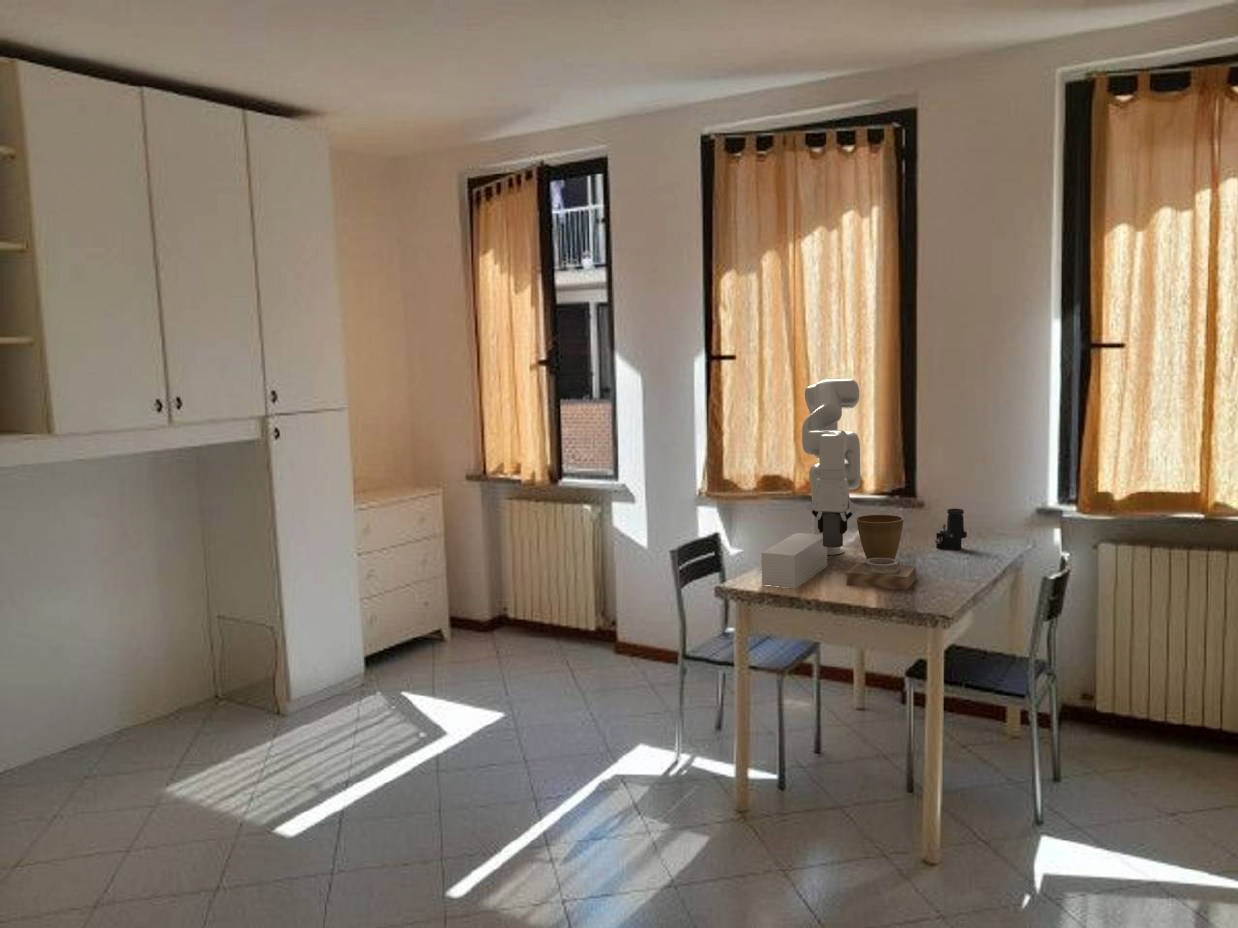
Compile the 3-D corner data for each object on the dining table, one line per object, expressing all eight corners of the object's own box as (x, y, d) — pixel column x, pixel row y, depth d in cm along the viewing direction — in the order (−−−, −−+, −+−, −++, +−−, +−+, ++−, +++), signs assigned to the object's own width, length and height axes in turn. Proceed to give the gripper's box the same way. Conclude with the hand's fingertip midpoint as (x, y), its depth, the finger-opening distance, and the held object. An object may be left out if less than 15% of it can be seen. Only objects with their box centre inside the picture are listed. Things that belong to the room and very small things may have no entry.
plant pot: (904, 561, 324) (904, 514, 322) (901, 572, 310) (901, 523, 308) (859, 559, 329) (859, 513, 327) (854, 569, 315) (854, 521, 313)
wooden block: (846, 585, 297) (846, 564, 296) (857, 574, 309) (857, 554, 308) (907, 590, 289) (907, 568, 288) (915, 578, 301) (915, 558, 300)
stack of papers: (796, 564, 327) (795, 532, 326) (827, 566, 322) (826, 534, 321) (761, 586, 300) (761, 552, 298) (795, 589, 294) (794, 555, 293)
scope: (942, 506, 345) (970, 508, 339) (942, 544, 347) (970, 547, 341) (934, 510, 338) (963, 512, 332) (934, 549, 340) (962, 552, 334)
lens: (820, 546, 296) (820, 514, 294) (825, 542, 301) (825, 510, 299) (840, 548, 293) (839, 515, 291) (845, 543, 298) (844, 511, 296)
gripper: (800, 475, 294) (801, 533, 297) (857, 477, 286) (857, 537, 289) (807, 471, 301) (808, 528, 303) (863, 473, 293) (863, 531, 295)
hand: (832, 531), depth 296 cm, fingers closed on lens, 6 cm apart
